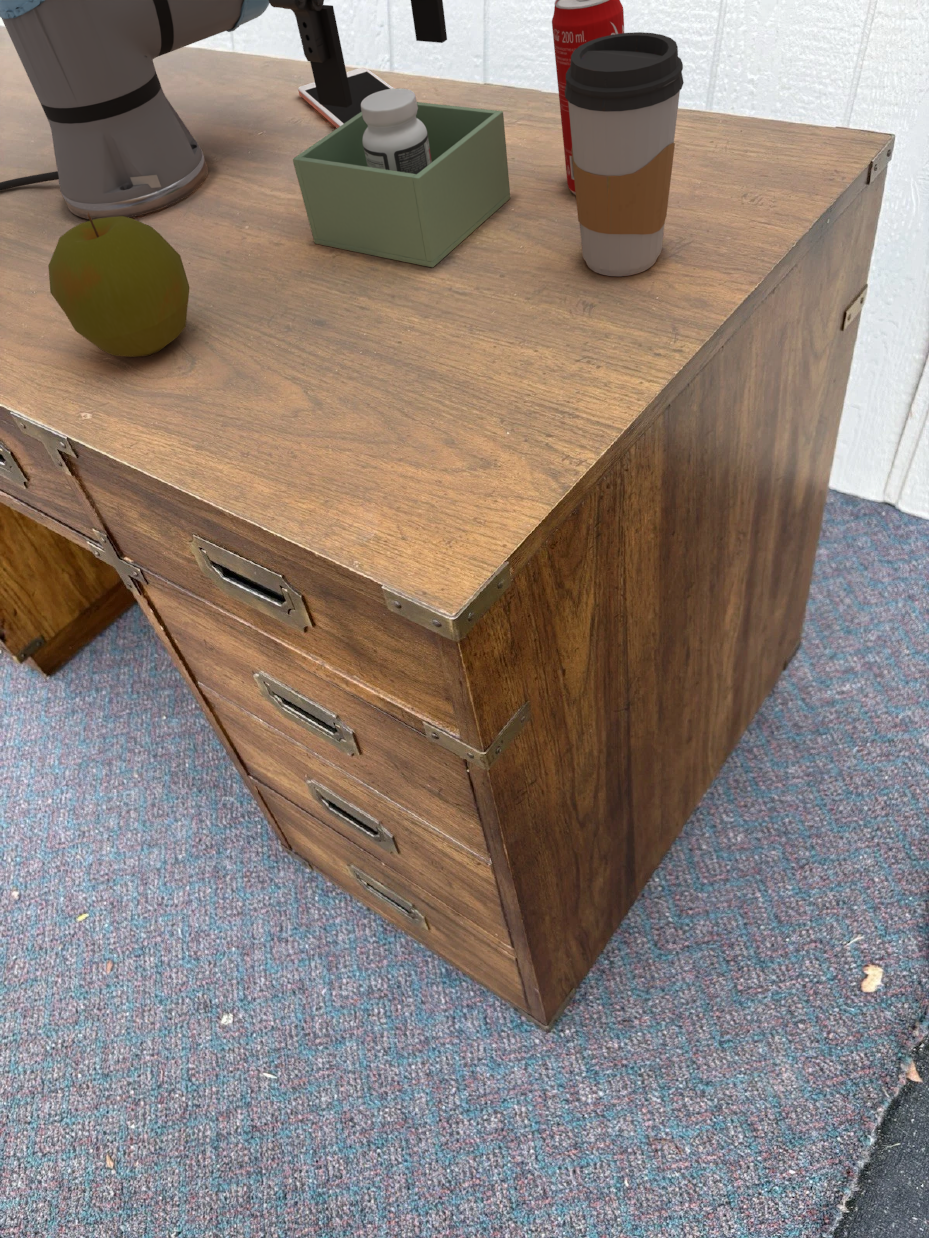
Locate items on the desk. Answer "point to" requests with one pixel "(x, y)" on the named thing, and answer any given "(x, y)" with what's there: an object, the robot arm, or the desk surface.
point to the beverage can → (577, 19)
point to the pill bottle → (394, 132)
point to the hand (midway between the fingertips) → (386, 71)
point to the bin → (407, 187)
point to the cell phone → (360, 88)
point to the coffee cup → (623, 146)
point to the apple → (120, 285)
